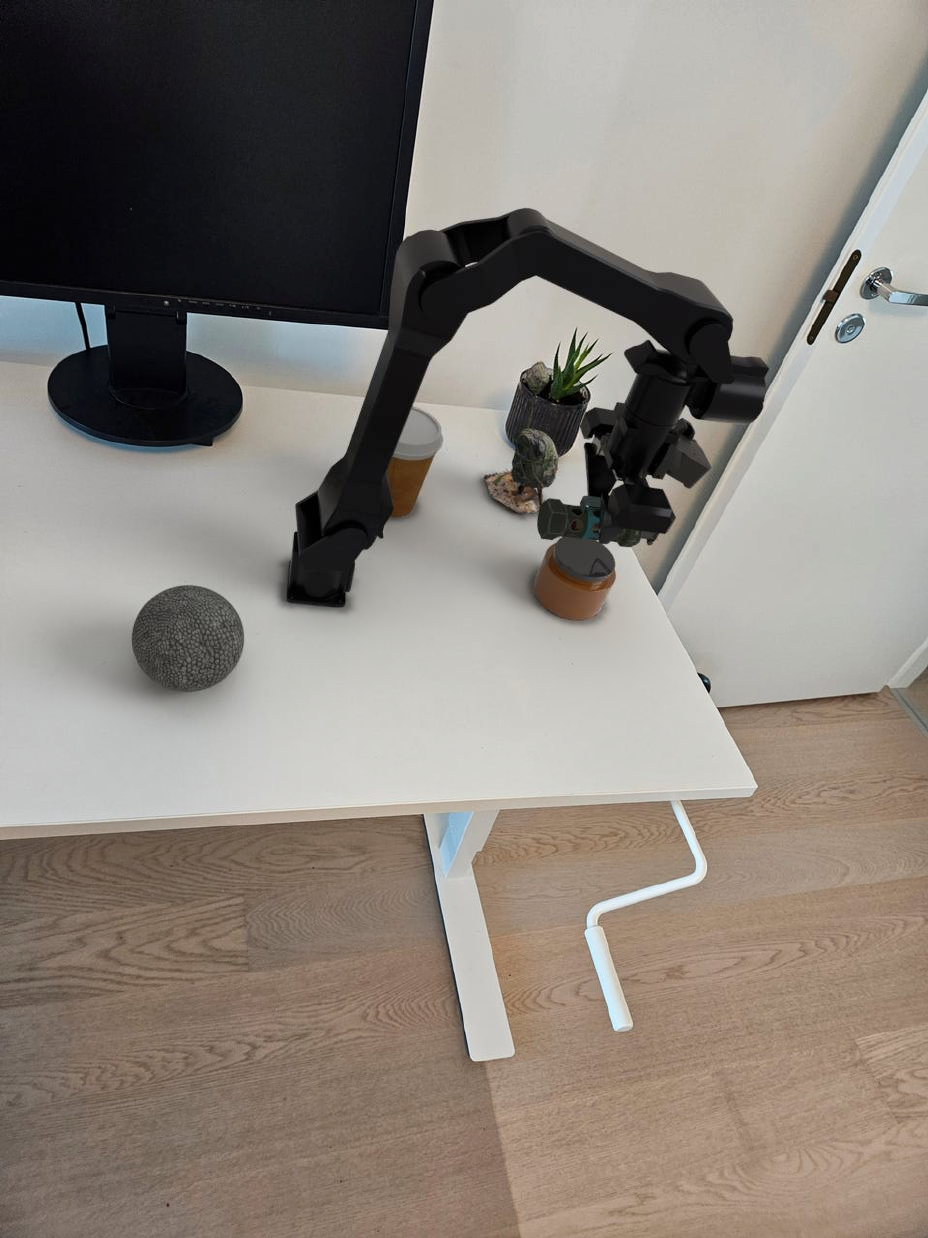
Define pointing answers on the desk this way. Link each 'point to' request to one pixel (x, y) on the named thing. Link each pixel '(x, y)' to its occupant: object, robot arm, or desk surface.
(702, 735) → the desk surface
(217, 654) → the decorative ball
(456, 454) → the desk surface
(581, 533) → the stun grenade
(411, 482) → the disposable coffee cup
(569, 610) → the jar
